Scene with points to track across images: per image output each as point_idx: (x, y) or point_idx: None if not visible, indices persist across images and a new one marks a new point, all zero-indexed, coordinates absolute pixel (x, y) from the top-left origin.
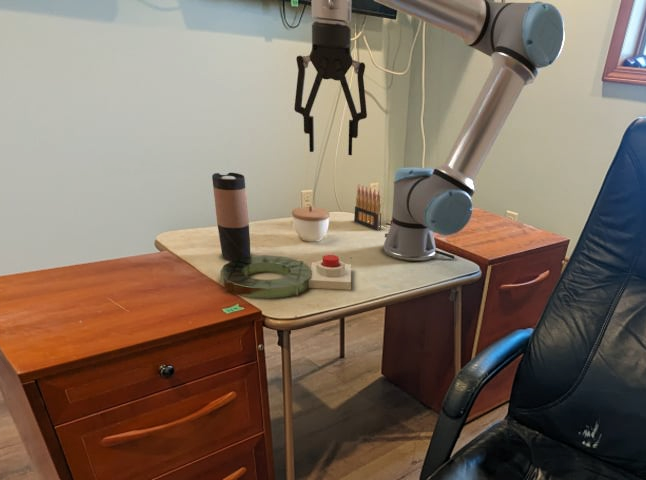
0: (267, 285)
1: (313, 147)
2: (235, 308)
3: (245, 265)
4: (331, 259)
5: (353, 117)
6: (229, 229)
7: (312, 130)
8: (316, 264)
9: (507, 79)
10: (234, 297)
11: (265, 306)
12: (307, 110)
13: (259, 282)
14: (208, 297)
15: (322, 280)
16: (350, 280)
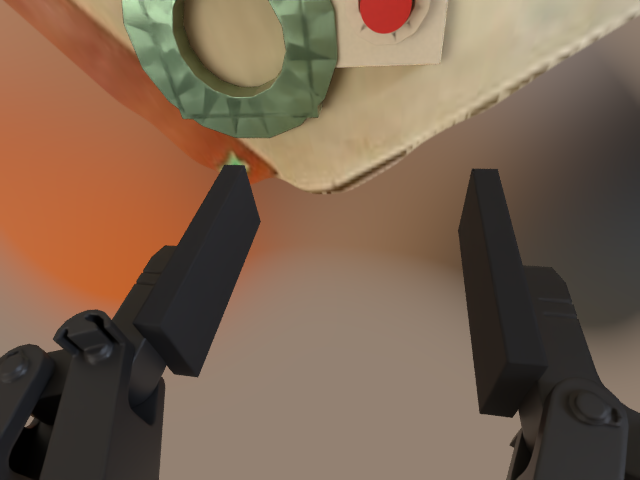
0: (261, 125)
1: (247, 207)
2: None
3: (167, 14)
4: (388, 24)
5: (527, 452)
6: None
7: (224, 308)
8: (345, 13)
9: None
10: None
11: (277, 155)
12: (141, 414)
13: (241, 113)
14: (176, 133)
15: (368, 66)
16: (441, 51)
